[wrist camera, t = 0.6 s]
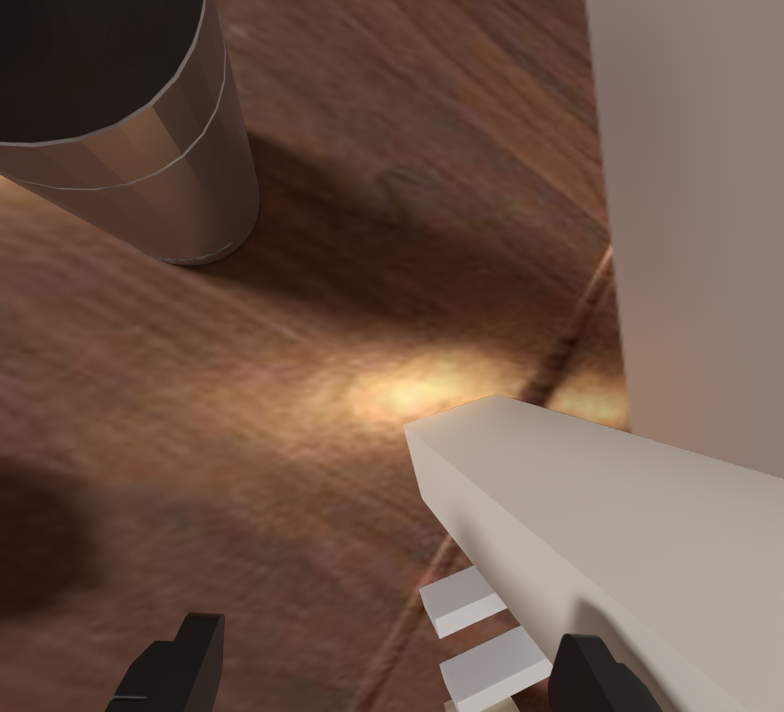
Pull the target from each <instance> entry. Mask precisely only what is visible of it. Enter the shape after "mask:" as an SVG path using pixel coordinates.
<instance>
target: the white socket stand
mask: <svg viewBox="0 0 784 712" xmlns="http://www.w3.org/2000/svg"><path fill="white" fill-rule="evenodd" d="M403 428H404V432H405V435H406V439H407V443H408V447H409V451H410V455H411V458H412V462H413V466H414V470H415V474H416V478H417V481H418V485H419V489H420V493H421V497H422V499H423V500H424V502H425V503H426V504H427V505H428V507H429V508H430V509H431V510H432V512H433V513H434V514H435V516H436V517H437V518H438V519H439V521H440V522H441V523H442V525H443V526H444V527H445V528H446V530H447V531H448V532H449V533H450V535H451V536H452V537H453V539H454V540H455V541H456V542H457V544H458V545H459V546H460V548H461V549H462V550H463V551H464V553H465V554H466V555H467V556H468V558H469V559H470V560H471V562H472V563H473V564H474V566H471V567H469V568H467V569H464V570H462V571H460V572H457V573H455V574H453V575H450V576H448V577H446V578H443V579H441V580H439V581H436V582H434V583H432V584H429V585H427V586H424V587H422V588H420V593H421V597H422V600H423V604H424V607H425V609H426V611H427V613H428V615H429V617H430V619H431V621H432V624H433V626H434V628H435V630H436V632H437V634H438V636H439V638H440V639H441V638H443V637H445V636H447V635H449V634H451V633H454V632H456V631H458V630H460V629H462V628H464V627H467V626H469V625H471V624H473V623H475V622H477V621H480V620H482V619H484V618H486V617H488V616H490V615H493V614H495V613H497V612H499V611H501V610H504V609H506V608H508V609H509V610H510V611H511V613H512V614H513V615H514V617H515V618H516V619H517V620H518V622H519V623H520V624H521V625H520V626H518V627H516V628H514V629H512V630H510V631H508V632H506V633H504V634H502V635H499V636H497V637H495V638H493V639H491V640H489V641H487V642H485V643H483V644H481V645H478V646H476V647H474V648H472V649H470V650H468V651H466V652H464V653H462V654H459V655H457V656H455V657H453V658H451V659H449V660H447V661H445V662H443V663H441V664H440V667H441V671H442V675H443V679H444V681H445V684H446V686H447V688H448V691H449V693H450V695H451V698H452V700H453V702H454V704H455V707H456V709H457V711H458V712H481V711H482V710H484V709H486V708H488V707H490V706H492V705H494V704H496V703H498V702H500V701H502V700H504V699H506V698H508V697H510V696H512V695H514V694H515V693H517V692H519V691H521V690H523V689H525V688H527V687H529V686H531V685H533V684H535V683H537V682H539V681H541V680H543V679H545V678H546V677H548V676H550V674H551V671H552V667H553V664H554V661H555V658H556V654H557V651H558V648H559V645H560V641H561V639H562V636H563V635H564V634H566V633H570V634H589V635H597V636H599V637H600V638H601V639H602V640H603V641H604V643H605V644H606V646H607V648H608V649H609V651H610V653H611V654H612V656H613V657H614V659H615V661H616V662H617V663H624V664H625V665H626V666H627V667H628V668H629V669H630V670H631V671H632V672H633V673H634V674H635V675H636V676H637V677H638V678H639V679H640V680H641V681H642V682H643V683H644V684H645V685H646V686H647V688H648V689H649V691H650V692H651V694H652V695H653V697H654V698H655V700H656V702H657V703H658V705H659V706H660V708H661V709H662V711H663V712H784V479H782V478H779V477H776V476H772V475H769V474H766V473H762V472H759V471H756V470H752V469H749V468H745V467H742V466H739V465H735V464H732V463H728V462H725V461H721V460H718V459H715V458H712V457H708V456H705V455H702V454H698V453H695V452H691V451H688V450H684V449H681V448H678V447H674V446H671V445H668V444H664V443H661V442H657V441H654V440H651V439H647V438H644V437H641V436H637V435H634V434H631V433H627V432H624V431H620V430H617V429H614V428H610V427H607V426H603V425H600V424H597V423H593V422H590V421H587V420H583V419H580V418H576V417H573V416H570V415H566V414H563V413H560V412H556V411H553V410H549V409H546V408H543V407H539V406H536V405H532V404H529V403H526V402H522V401H519V400H516V399H512V398H509V397H505V396H502V395H499V394H495V395H492V396H489V397H486V398H482V399H479V400H476V401H473V402H470V403H467V404H464V405H461V406H458V407H455V408H452V409H449V410H446V411H443V412H440V413H437V414H434V415H430V416H427V417H424V418H421V419H418V420H415V421H412V422H409V423H406V424H403Z"/></svg>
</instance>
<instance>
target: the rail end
mask: <svg viewBox="0 0 784 712" xmlns="http://www.w3.org/2000/svg"><path fill="white" fill-rule="evenodd" d="M444 706H445V710H446V712H458V711H457V709H456V707H455V704H454V702H453V700H452V699H451V700H449V701H447V702H445V703H444ZM481 712H520V711H519V709H518V708H517V706H516V704H515V703H514V701H513V699H512V698H511V696H510V697H508V698H506V699H504V700H502V701H500V702H498V703H496V704H494V705H492V706H490V707H488V708H486V709H484V710H482V711H481Z"/></svg>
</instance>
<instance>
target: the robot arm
mask: <svg viewBox="0 0 784 712" xmlns="http://www.w3.org/2000/svg"><path fill="white" fill-rule="evenodd" d="M0 175H2V176H4V177H6V178H7V179H9V180H11V181H13V182H15V183H17V184H18V185H20V186H22V187H24V188H26V189H28V190H29V191H31V192H33V193H35V194H37V195H39V196H40V197H42V198H44V199H46V200H48V201H50V202H52V203H53V204H55V205H57V206H59V207H61V208H63V209H64V210H66V211H68V212H70V213H72V214H74V215H75V216H77V217H79V218H81V219H83V220H85V221H87V222H88V223H90V224H92V225H94V226H96V227H98V228H99V229H101V230H103V231H105V232H107V233H109V234H110V235H112V236H114V237H116V238H118V239H120V240H121V241H123V242H125V243H127V244H129V245H131V246H132V247H134V248H136V249H138V250H140V251H142V252H144V253H146V254H148V255H150V256H152V257H154V258H156V259H158V260H161V261H165V262H168V263H172V264H178V265H189V266H192V265H201V264H208V263H211V262H214V261H217V260H220V259H222V258H224V257H226V256H228V255H229V254H231V253H233V252H234V251H235V250H236V249H238V248H239V247H240V246H241V245H242V244H243V243H244V242H245V241H246V239H247V238H248V236H249V235H250V233H251V232H252V230H253V228H254V226H255V223H256V220H257V218H258V213H259V206H260V194H259V185H258V181H257V176H256V172H255V168H254V163H253V158H252V154H251V150H250V145H249V141H248V137H247V132H246V128H245V124H244V119H243V115H242V111H241V106H240V102H239V98H238V94H237V89H236V85H235V81H234V76H233V72H232V68H231V63H230V59H229V55H228V50H227V46H226V42H225V38H224V33H223V29H222V25H221V20H220V18H219V14H218V10H217V5H216V1H215V0H0ZM224 624H225V616H224V614H211V613H192V612H190V613H188V615H187V616H186V617H185V619H184V621H183V623H182V625H181V627H180V629H179V631H178V633H177V635H176V637H175V639H174V641H154V642H153V643H152V644H151V645H150V646H149V647H148V648H147V649H146V650H145V651H144V652H143V653H142V654H141V655H140V656H139V657H138V658H137V659H136V660H135V661H134V662H133V663H132V664H131V665H130V667H129V669H128V671H127V673H126V674H125V676H124V678H123V680H122V681H121V683H120V685H119V687H118V689H117V690H116V692H115V694H114V697H113V700H112V701H110V703H109V705H108V706H107V708H106V710H105V712H211V711H212V708H213V705H214V702H215V698H216V695H217V691H218V687H219V683H220V678H221V672H222V663H223V644H224ZM548 694H549V701H550V705H551V709H552V712H663V711H662V709H661V708H660V706H659V705H658V703H657V702H656V700H655V698H654V697H653V695H652V694H651V692H650V691H649V689H648V688H647V686H646V685H645V684H644V683H643V682H642V681H641V680H640V679H639V678H638V677H637V676H636V675H635V674H634V673H633V672H632V671H631V670H630V669H629V668H628V667H627V666H626V665H625V664H624V663H617V662H616V661H615V659H614V657H613V656H612V654H611V653H610V651H609V649H608V648H607V646H606V644H605V643H604V641H603V640H602V639H601V638H600V637H599V636H597V635H589V634H570V633H566V634H564V635H563V636H562V639H561V641H560V645H559V648H558V651H557V654H556V658H555V661H554V664H553V667H552V671H551V674H550V677H549V682H548Z"/></svg>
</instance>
